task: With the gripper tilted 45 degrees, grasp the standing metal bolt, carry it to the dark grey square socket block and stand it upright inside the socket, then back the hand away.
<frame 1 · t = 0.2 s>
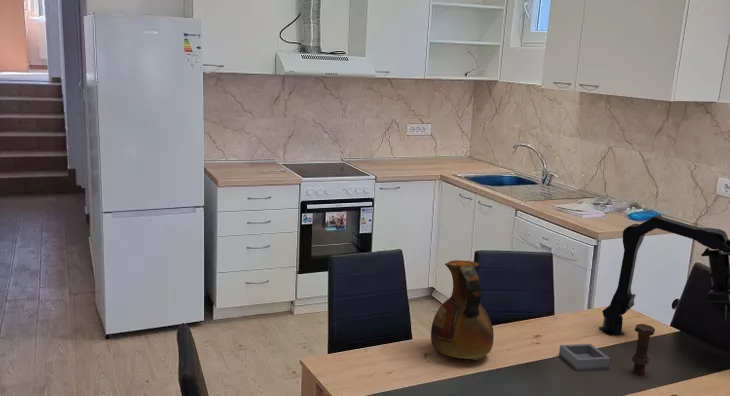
hand: (726, 316, 210), 15 cm above the table, tool pointing down, fingers open, 9 cm apart
bolt: (638, 373, 201), on the table
socket block: (583, 362, 206), on the table
ceramic pitcher: (460, 354, 207), on the table
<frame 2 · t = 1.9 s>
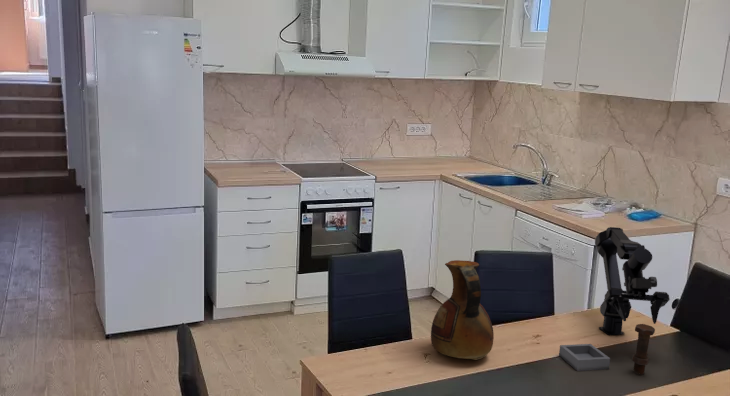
hand: (640, 322, 206), 13 cm above the table, tool tilted 45°, fingers open, 9 cm apart
nothing on the table moved.
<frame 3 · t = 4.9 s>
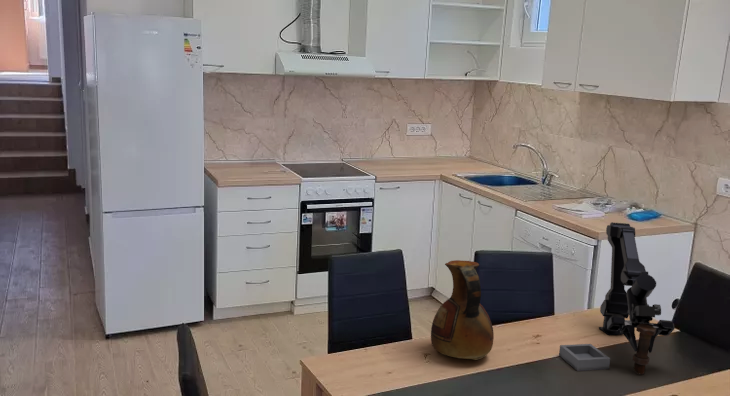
hand: (643, 351, 198), 8 cm above the table, tool tilted 45°, fingers closed on bolt, 4 cm apart
bolt: (638, 373, 201), on the table, touching gripper
everything else where it was.
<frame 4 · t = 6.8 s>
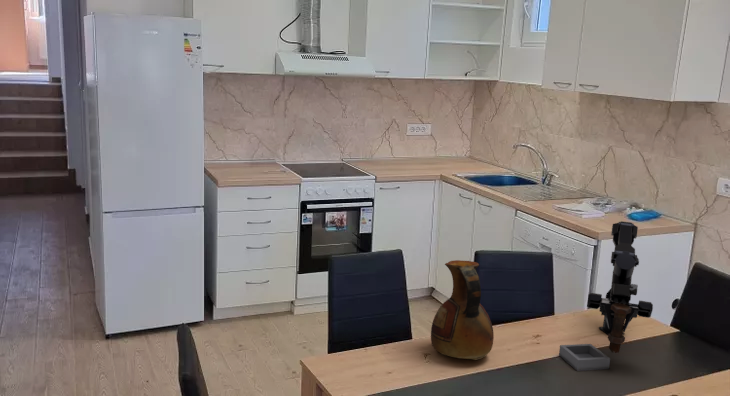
hand: (616, 330, 199), 13 cm above the table, tool tilted 45°, fingers closed on bolt, 4 cm apart
bolt: (613, 352, 202), point 5 cm above the table, touching gripper
everything else where it was.
when the fingers open (9 cm above the table, at t = 8.8 s): bolt stays where it is, resting on socket block.
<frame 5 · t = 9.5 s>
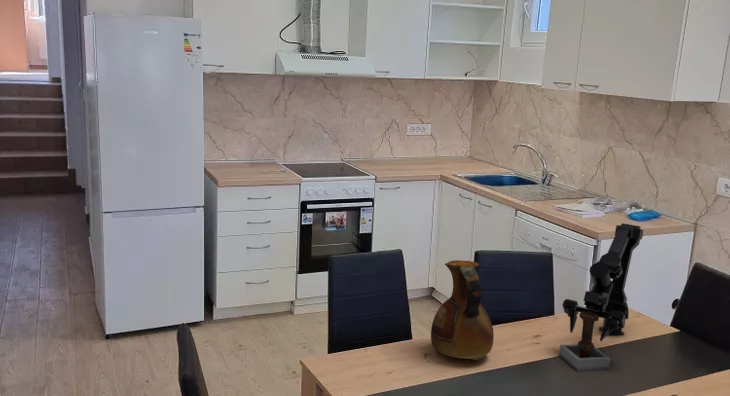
hand: (585, 336, 204), 9 cm above the table, tool tilted 45°, fingers open, 9 cm apart
bolt: (584, 359, 207), point 1 cm above the table, touching socket block
everything else where it was.
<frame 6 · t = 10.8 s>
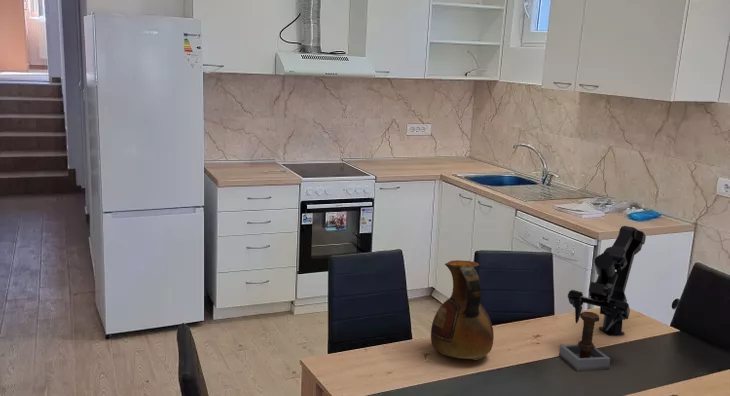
hand: (590, 326, 207), 11 cm above the table, tool tilted 45°, fingers open, 9 cm apart
nothing on the table moved.
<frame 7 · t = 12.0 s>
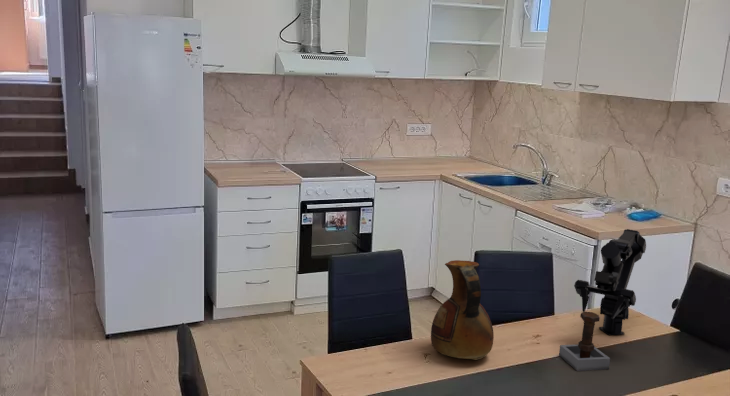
hand: (597, 315, 210), 13 cm above the table, tool tilted 45°, fingers open, 9 cm apart
nothing on the table moved.
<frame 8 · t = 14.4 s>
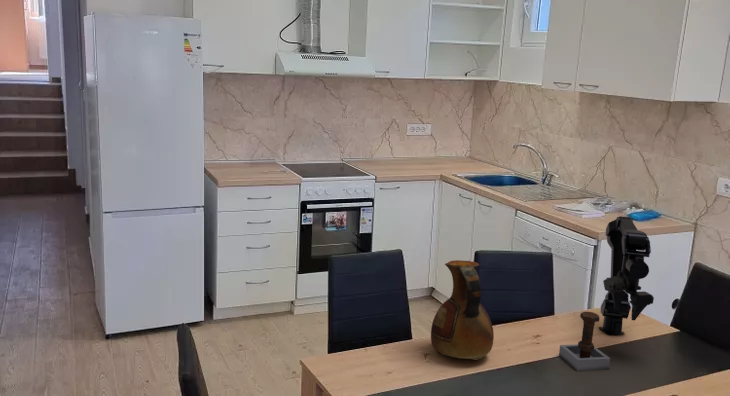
hand: (624, 315, 216), 12 cm above the table, tool pointing down, fingers open, 9 cm apart
nothing on the table moved.
at the end: bolt 0.5 cm off-centre on the socket block, point 0.6 cm above the socket block's base; bolt tilted 0°; the gripper is holding nothing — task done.
